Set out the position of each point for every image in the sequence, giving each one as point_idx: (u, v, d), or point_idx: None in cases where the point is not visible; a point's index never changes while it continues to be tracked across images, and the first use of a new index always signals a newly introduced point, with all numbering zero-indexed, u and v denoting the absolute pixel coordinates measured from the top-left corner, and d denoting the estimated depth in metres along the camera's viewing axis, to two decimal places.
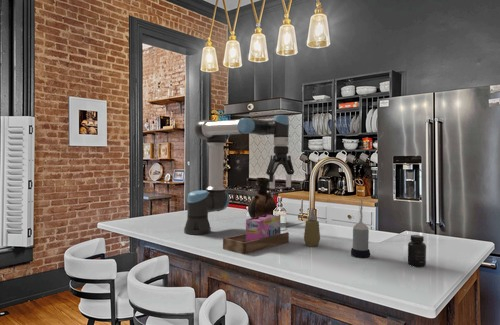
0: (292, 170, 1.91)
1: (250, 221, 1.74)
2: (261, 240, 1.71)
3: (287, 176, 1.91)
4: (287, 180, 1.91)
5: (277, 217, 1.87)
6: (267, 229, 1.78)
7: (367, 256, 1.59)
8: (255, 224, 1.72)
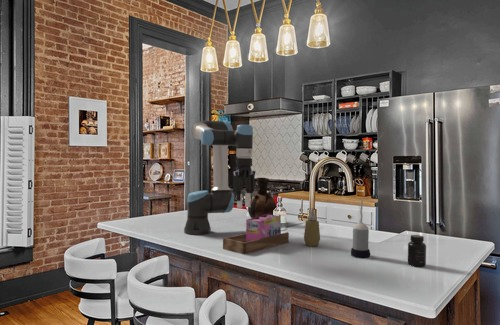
0: (252, 187, 1.75)
1: (250, 221, 1.74)
2: (261, 240, 1.71)
3: (246, 195, 1.74)
4: (246, 199, 1.74)
5: (277, 217, 1.87)
6: (268, 229, 1.78)
7: (367, 256, 1.59)
8: (256, 224, 1.72)
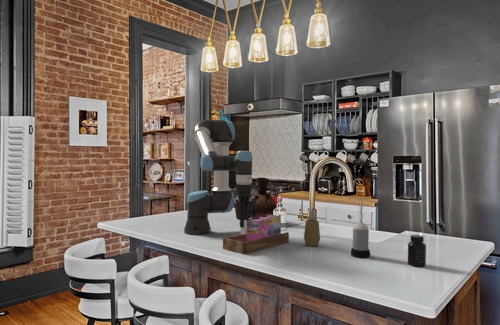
0: (249, 214, 1.73)
1: (250, 221, 1.74)
2: (261, 240, 1.71)
3: None
4: None
5: (277, 217, 1.87)
6: (268, 229, 1.78)
7: (367, 256, 1.59)
8: (256, 224, 1.72)
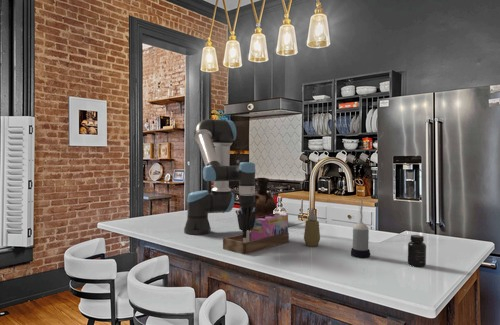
0: (252, 224, 1.75)
1: (255, 220, 1.76)
2: (261, 240, 1.71)
3: None
4: None
5: (284, 217, 1.88)
6: (273, 229, 1.80)
7: (367, 256, 1.59)
8: (260, 223, 1.75)
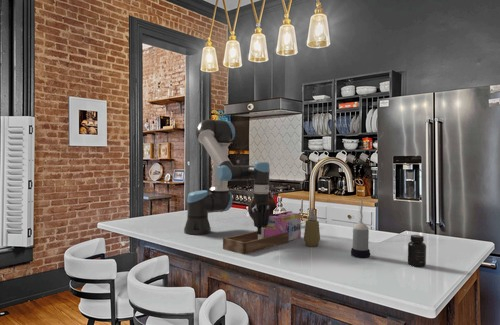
0: (266, 221, 1.83)
1: None
2: (261, 240, 1.71)
3: None
4: None
5: (297, 215, 1.95)
6: (286, 226, 1.87)
7: (367, 256, 1.59)
8: (273, 221, 1.82)
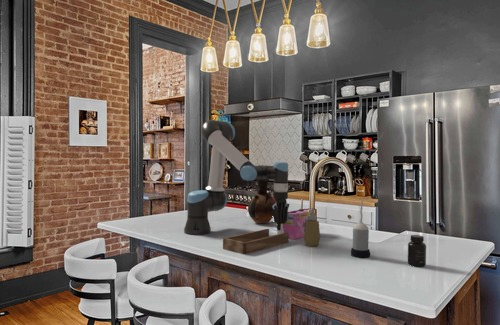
0: (285, 218, 1.94)
1: (287, 214, 1.96)
2: (261, 240, 1.71)
3: None
4: None
5: None
6: (303, 222, 1.99)
7: (367, 256, 1.59)
8: (291, 217, 1.94)
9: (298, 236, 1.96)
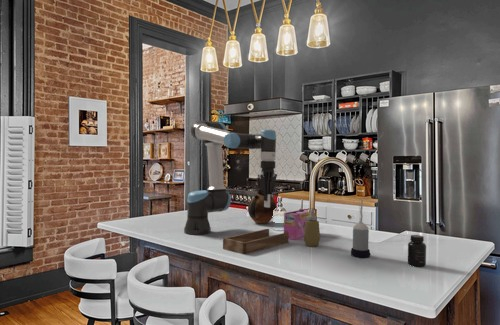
0: (272, 189, 1.86)
1: (288, 214, 1.96)
2: (261, 240, 1.71)
3: None
4: None
5: None
6: (304, 222, 1.99)
7: (367, 256, 1.59)
8: (292, 217, 1.94)
9: (299, 236, 1.95)
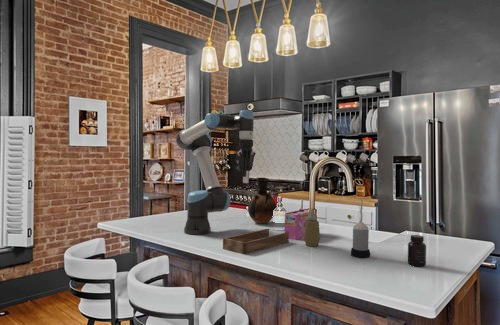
0: (251, 166, 1.99)
1: (288, 214, 1.95)
2: (261, 240, 1.71)
3: None
4: None
5: None
6: (304, 223, 1.98)
7: (367, 256, 1.59)
8: (293, 217, 1.93)
9: (300, 236, 1.95)
